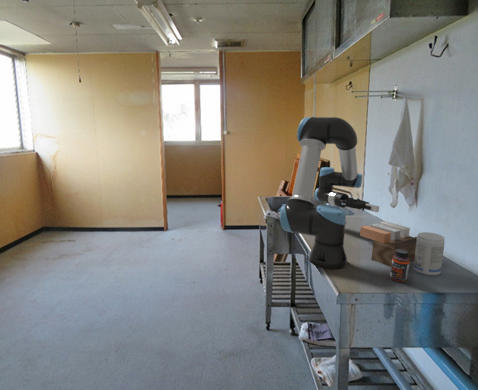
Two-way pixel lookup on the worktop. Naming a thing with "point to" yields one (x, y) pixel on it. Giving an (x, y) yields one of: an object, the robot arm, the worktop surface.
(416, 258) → the supplement tub
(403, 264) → the supplement bottle
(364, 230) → the orange rectangular bar
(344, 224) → the robot arm
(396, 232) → the gray bar
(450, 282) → the worktop surface
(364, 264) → the worktop surface
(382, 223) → the off-white bar
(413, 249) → the walnut key block
